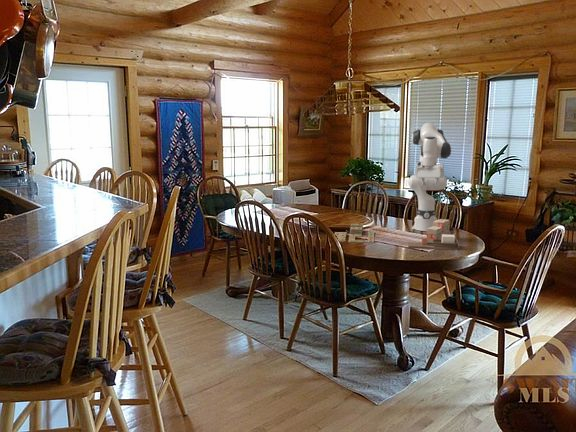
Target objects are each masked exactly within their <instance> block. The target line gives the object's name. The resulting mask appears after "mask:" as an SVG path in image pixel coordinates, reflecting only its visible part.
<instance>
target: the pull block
mask: <svg viewBox="0 0 576 432" xmlns="http://www.w3.org/2000/svg"><path fill="white" fill-rule="evenodd" d="M455 238H456V236H455V234H449V235H446V234H442V243H455ZM421 242H422V245H427V244H434V242H427V237H421Z"/></svg>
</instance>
